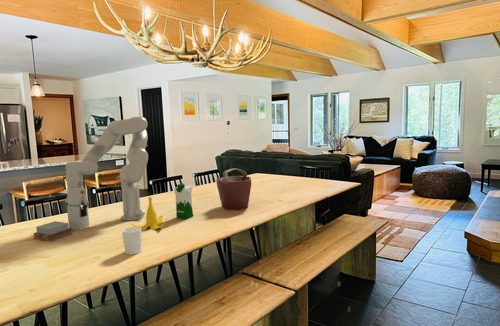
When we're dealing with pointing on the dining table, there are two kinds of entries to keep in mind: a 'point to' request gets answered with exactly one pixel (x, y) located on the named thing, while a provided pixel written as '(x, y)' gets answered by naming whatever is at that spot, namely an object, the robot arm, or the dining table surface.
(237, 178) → the bucket
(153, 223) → the banana peel
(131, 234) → the white cup
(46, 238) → the tower base
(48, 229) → the tower top
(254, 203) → the dining table surface
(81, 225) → the supplement box
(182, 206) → the milk carton
